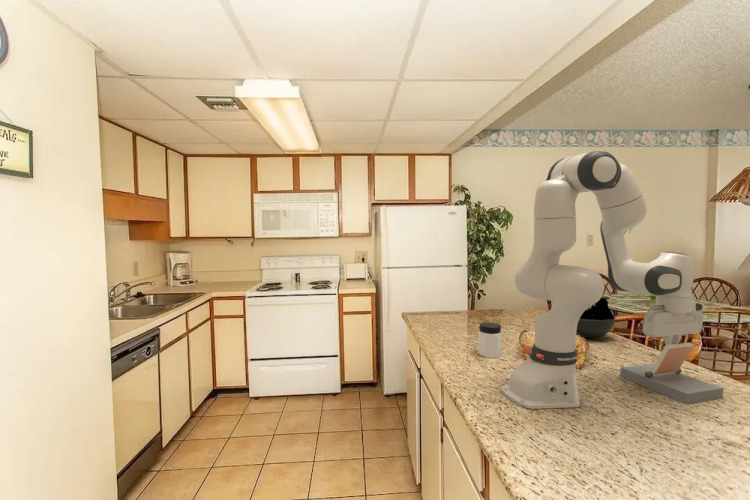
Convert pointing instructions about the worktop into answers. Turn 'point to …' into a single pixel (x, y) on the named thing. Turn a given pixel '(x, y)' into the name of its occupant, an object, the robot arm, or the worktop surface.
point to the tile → (671, 358)
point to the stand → (672, 384)
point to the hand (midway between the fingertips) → (671, 348)
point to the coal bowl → (596, 320)
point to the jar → (490, 340)
